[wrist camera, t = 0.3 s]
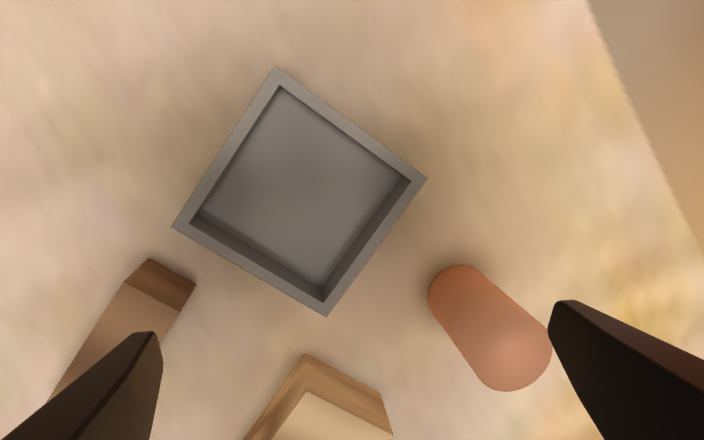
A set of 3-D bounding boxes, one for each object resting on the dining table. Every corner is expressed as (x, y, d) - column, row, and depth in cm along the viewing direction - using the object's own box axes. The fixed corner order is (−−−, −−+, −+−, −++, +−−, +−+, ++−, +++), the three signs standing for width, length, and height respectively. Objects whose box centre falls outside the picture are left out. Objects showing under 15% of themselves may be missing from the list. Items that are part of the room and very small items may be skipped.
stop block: (109, 413, 25) (81, 459, 22) (61, 392, 24) (24, 436, 21) (196, 284, 24) (180, 312, 21) (148, 258, 23) (123, 282, 20)
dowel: (462, 333, 27) (517, 404, 20) (415, 303, 26) (457, 368, 19) (499, 285, 27) (568, 342, 20) (453, 253, 26) (509, 302, 19)
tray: (322, 294, 25) (326, 317, 22) (186, 213, 23) (170, 226, 20) (411, 170, 24) (427, 178, 21) (278, 72, 22) (275, 65, 19)
